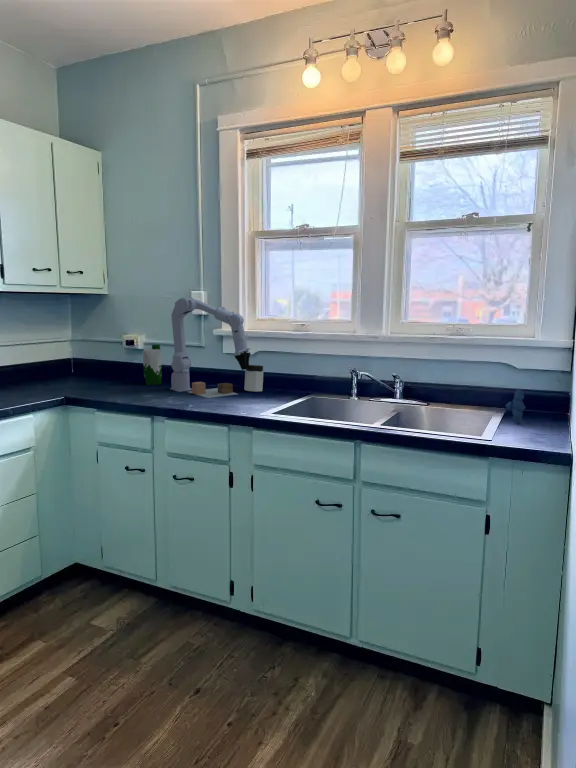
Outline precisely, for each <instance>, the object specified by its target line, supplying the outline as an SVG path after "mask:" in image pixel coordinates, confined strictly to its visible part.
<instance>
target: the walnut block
mask: <svg viewBox="0 0 576 768" xmlns="http://www.w3.org/2000/svg"><path fill="white" fill-rule="evenodd" d="M233 387H234V386H233V383H229V382H223V383H217V388H218V393H222V394H226V393H234V391H233Z"/></svg>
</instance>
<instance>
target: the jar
mask: <svg viewBox="0 0 576 768" xmlns="http://www.w3.org/2000/svg"><path fill="white" fill-rule="evenodd" d="M244 373H245V374H244V391H247V392H255V393H256V392H257V393H258V392H263V387H264V386H263V385H264V384H263V383H264V366H263V365H260V364H259V365H257V364H249V368H247V369H245V372H244Z"/></svg>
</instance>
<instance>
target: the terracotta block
mask: <svg viewBox="0 0 576 768" xmlns="http://www.w3.org/2000/svg"><path fill="white" fill-rule="evenodd" d="M206 385H207V384H206V382H203V381H194V382H191V389H192V390H191V391H192V393H191V394H193V395H196V396H200V395H199V394H206V389H207V388H206Z"/></svg>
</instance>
